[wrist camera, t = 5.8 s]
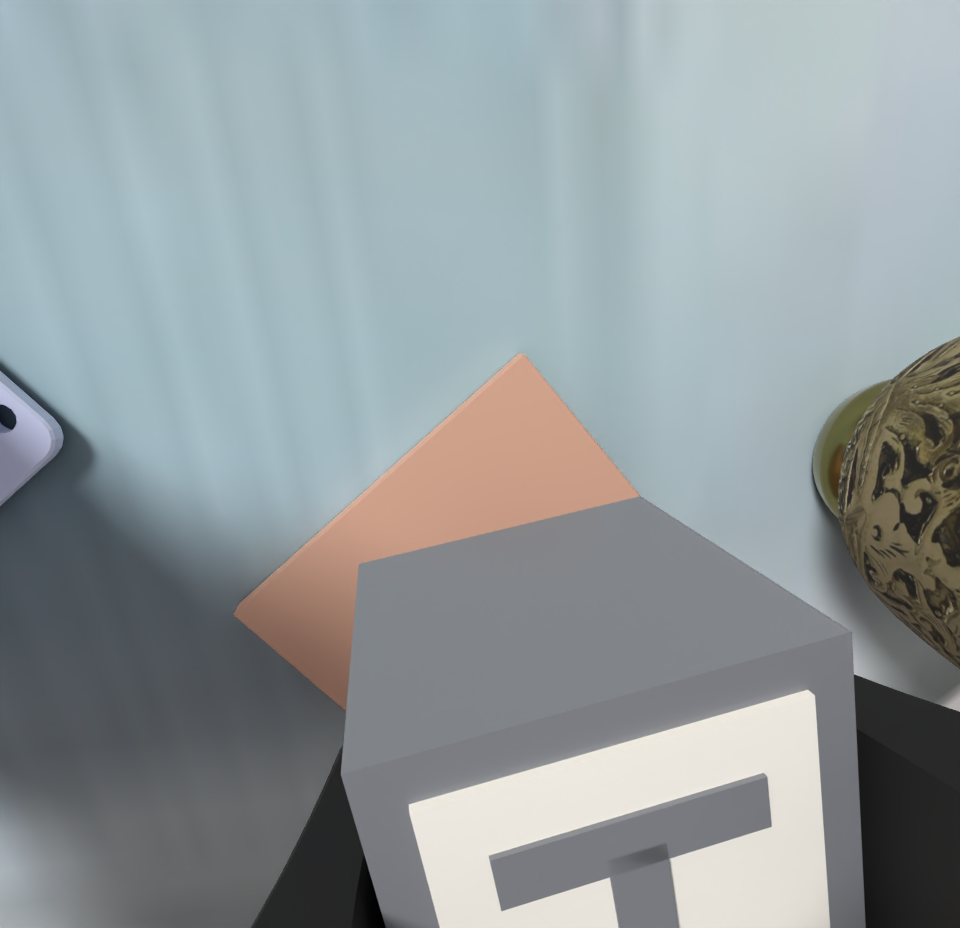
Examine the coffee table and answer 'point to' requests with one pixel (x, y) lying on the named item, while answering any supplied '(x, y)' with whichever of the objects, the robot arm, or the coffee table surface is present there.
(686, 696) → the letter block
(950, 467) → the cup
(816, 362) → the coffee table surface
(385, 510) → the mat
